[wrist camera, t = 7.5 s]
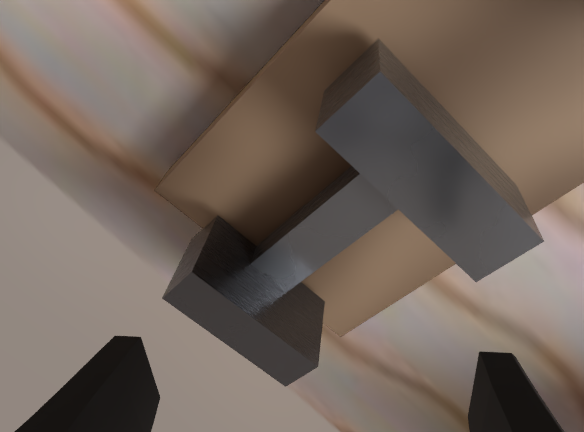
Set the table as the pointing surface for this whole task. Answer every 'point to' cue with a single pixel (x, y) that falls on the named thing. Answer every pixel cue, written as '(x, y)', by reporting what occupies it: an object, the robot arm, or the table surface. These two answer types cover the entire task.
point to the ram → (354, 217)
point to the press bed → (443, 87)
